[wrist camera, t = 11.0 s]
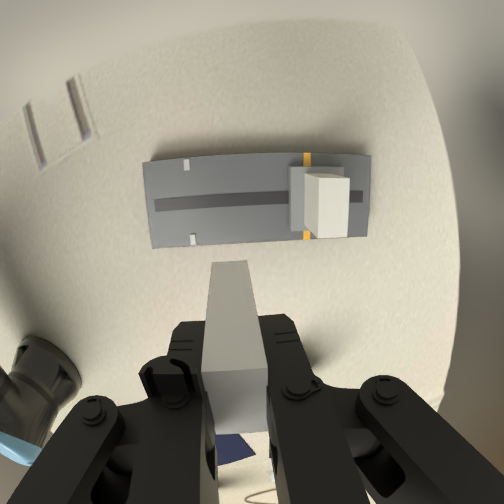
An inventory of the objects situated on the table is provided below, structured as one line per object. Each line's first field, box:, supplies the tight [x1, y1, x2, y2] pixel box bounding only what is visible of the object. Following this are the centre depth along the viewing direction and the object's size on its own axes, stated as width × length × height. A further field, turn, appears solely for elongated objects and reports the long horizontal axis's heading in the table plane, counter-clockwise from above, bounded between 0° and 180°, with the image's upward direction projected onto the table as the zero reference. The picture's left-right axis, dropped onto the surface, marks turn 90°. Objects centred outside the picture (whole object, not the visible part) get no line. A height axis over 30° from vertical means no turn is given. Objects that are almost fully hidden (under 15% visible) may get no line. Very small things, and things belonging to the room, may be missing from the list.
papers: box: [215, 432, 256, 466], centre depth 49 cm, size 24×30×4 cm
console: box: [142, 153, 371, 249], centre depth 32 cm, size 26×10×3 cm, turn 92°
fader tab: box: [288, 166, 350, 238], centre depth 28 cm, size 6×7×6 cm
